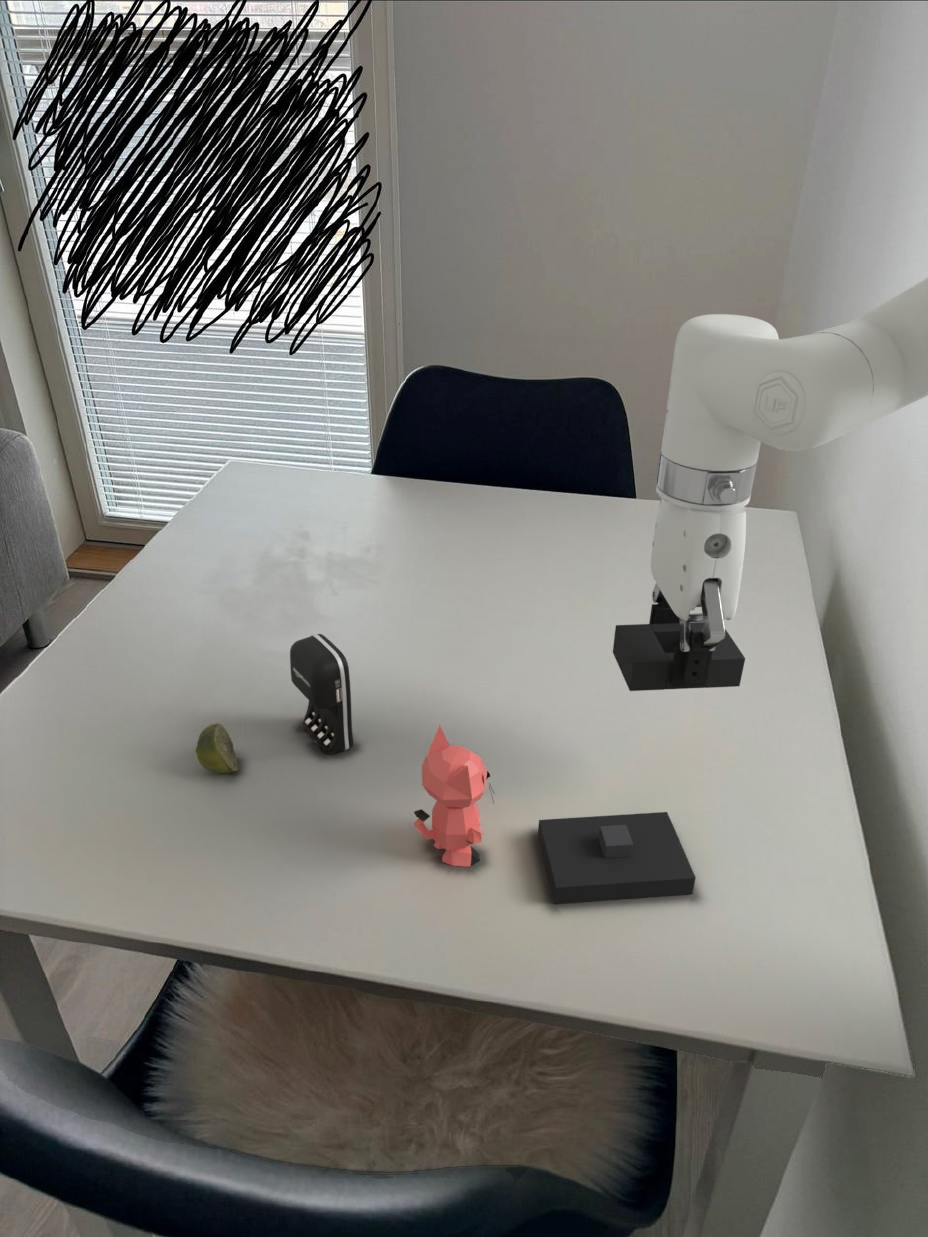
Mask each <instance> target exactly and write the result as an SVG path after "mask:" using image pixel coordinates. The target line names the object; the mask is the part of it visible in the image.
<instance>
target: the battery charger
mask: <svg viewBox="0 0 928 1237" xmlns="http://www.w3.org/2000/svg"><path fill="white" fill-rule="evenodd" d="M289 649H290V650H289V664H290V665H289V667H290V679H291V682H292V684H293V685H294V686H295V687H296V689H298V691H300V693H301V694H302V695H303V696H304V697H305V698H306V699H307V700H308V704H307V705H308V706H307V710H306V712H305V715H304V718H303V720H302V723H301V724H302V728H303V730H304V731H305V733H306V734H307V735H308V737H310V738H311V739H312V741H313V742H314V743H315V745H317V746H318V747H319V749H320V750H322V751H323V752H324V753H326V754H335V753H339V752H342V751H347V750H349V749H350V748H352V747H353V746H354V737H353V736H354V735H353V721H352V720H353V719H352V694H351V693H352V692H351V691H352V690H351V680H350V668H349V663H348V660H347V658H346V656H345V654H344V653H343V652H342V651H341V650H340V649H339V648H338V647H337V646H336V645H335V644H334V643H333V642H332V641H331V640H329V638H328V637H326V636H325V635H324V634H322V633H314V634H311V635H310V636H307V637H304V638H301V639H299V640H296V641H295V642H294V643H293V644H292V645H291V646H290V648H289Z"/></svg>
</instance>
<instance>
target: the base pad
mask: <svg viewBox="0 0 928 1237" xmlns="http://www.w3.org/2000/svg"><path fill="white" fill-rule="evenodd" d="M537 838H538V843H539V846H540V847H539V848H540V851H541V856H542V859H543V864H544V867H545V871H546V875H547V879H548V883H549V884H548V885H549V887H550V891H551V895H552V896H551V897H552V901H553V904H555V905H559V904H573V903H584V902H585V903H586V902H599V901H611V900H612V901H613V900H614V901H615V900H627V899H628V900H629V899H641V898H642V899H643V898H655V897H656V898H657V897H667V896H669V897H670V896H671V897H672V896H684V895H693V892H694V887H695V884H696V883H695V882H696V875H695V873H694V870H693V869H692V866H691V863H690V861H689V859H688V857H687V855H686V852H685V850H684V848H683V845H682V842H681V841H680V838H679V836H678V833H677V831H676V829H675V827H674V824H673V822H672V820H671V818H670V815H669V813H668V811H661V812H659V811H658V812H645V813H630V814H629V813H628V814H627V813H626V814H613V815H611V814H610V815H597V816H581V817H561V818H548V819H539V820H538V829H537Z"/></svg>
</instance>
